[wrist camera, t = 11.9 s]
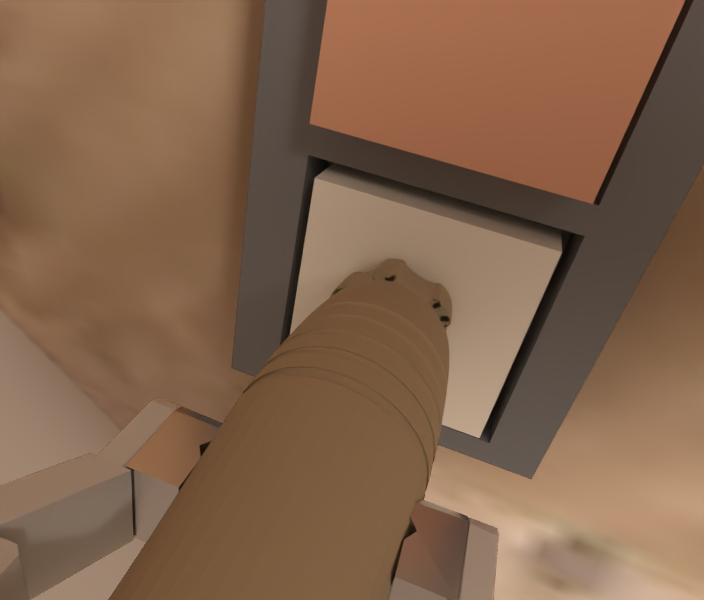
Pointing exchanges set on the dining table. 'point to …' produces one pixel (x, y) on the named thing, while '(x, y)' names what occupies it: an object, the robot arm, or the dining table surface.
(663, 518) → the dining table surface
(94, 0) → the dining table surface
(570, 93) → the key terracotta
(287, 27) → the keypad
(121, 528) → the robot arm
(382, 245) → the key offwhite
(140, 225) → the dining table surface
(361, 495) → the handle
